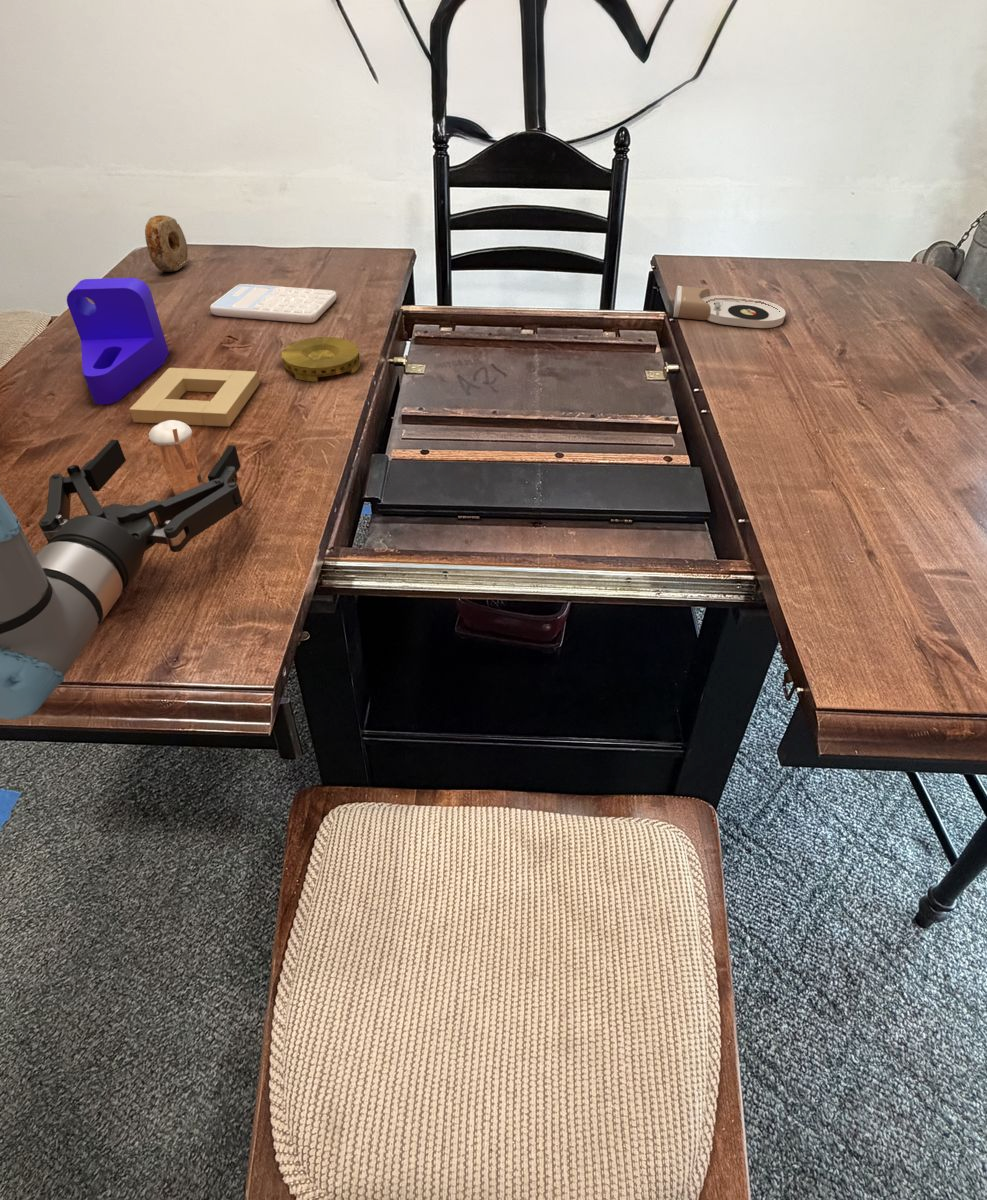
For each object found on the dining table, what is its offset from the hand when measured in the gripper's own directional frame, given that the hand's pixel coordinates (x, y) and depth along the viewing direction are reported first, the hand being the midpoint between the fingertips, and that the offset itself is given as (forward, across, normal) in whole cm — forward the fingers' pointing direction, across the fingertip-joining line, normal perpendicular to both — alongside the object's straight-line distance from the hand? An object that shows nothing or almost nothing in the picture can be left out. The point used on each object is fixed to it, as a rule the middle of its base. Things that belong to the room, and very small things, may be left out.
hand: (176, 452), depth 81 cm
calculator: (+62, -9, -6) cm, 63 cm away
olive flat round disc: (+38, +6, -6) cm, 39 cm away
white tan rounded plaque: (+68, +76, -6) cm, 102 cm away
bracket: (+31, -23, -6) cm, 39 cm away
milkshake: (0, 0, -6) cm, 6 cm away
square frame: (+24, -8, -6) cm, 26 cm away
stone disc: (+81, -36, -6) cm, 89 cm away
